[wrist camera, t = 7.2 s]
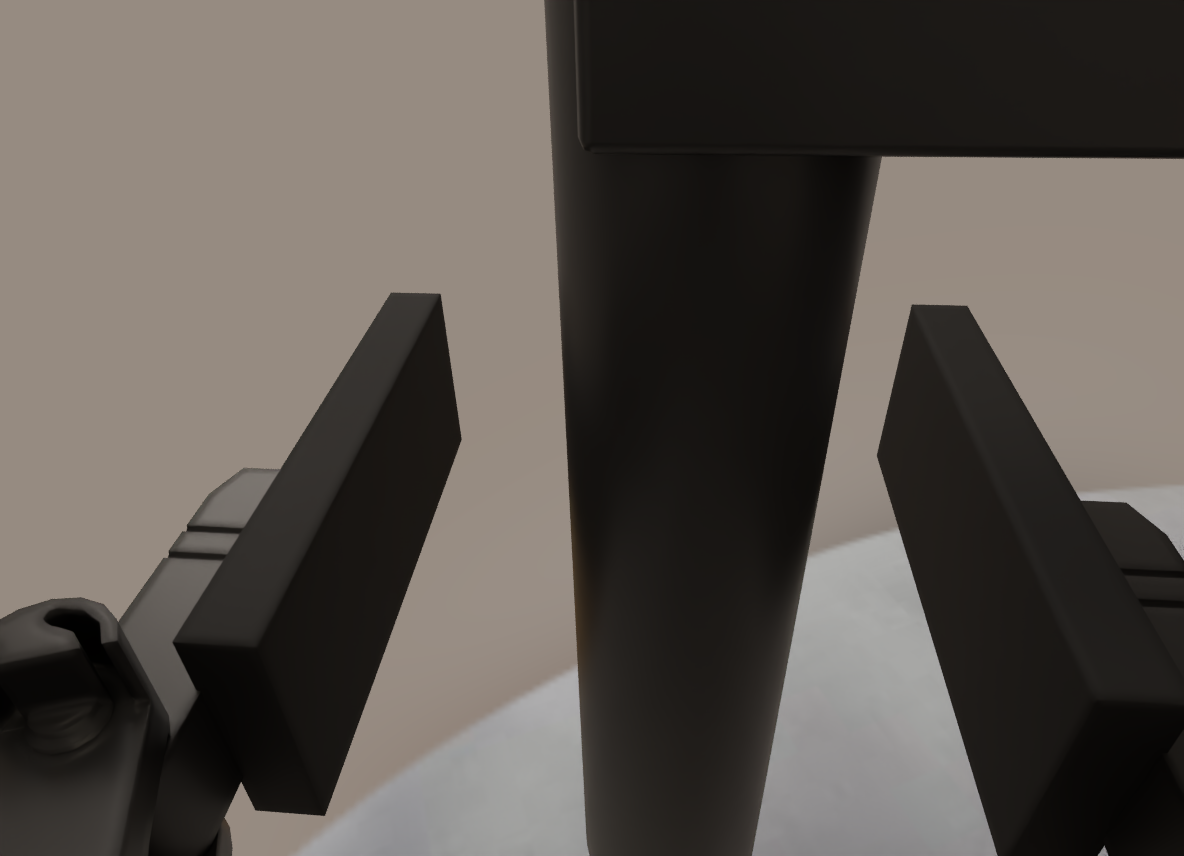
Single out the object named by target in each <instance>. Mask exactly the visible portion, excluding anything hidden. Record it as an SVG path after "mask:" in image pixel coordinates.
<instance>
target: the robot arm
mask: <svg viewBox="0 0 1184 856" xmlns="http://www.w3.org/2000/svg"><path fill="white" fill-rule="evenodd" d="M460 442H461V432H460V425H459V418H458V411H457V404H456V398H455V391H454V384H453V377H452V370H451V363H450V356H449V349H448V342H447V336H446V328H445V321H444V315H443V307H442V301H441V295H440V294H426V293H391V294H390V295H389V297H388V298H387V300H386V302H385V303H384V305H383V307H382V308H381V310H380V312H379V313H378V314H377V316H376V318H375V319H374V321H373V322H372V324H371V326H370V327H369V329H368V330H367V332H366V334H365V335H364V337H363V338H362V340H361V341H360V343H359V345H358V346H357V348H356V349H355V351H354V353H353V355H352V356H351V357H350V359H349V361H348V362H347V364H346V365H345V367H344V369H343V370H342V372H341V373H340V375H339V377H338V378H337V380H336V381H335V383H334V385H333V386H332V388H331V389H330V391H329V393H328V394H327V396H326V397H325V399H324V401H323V402H322V404H321V405H320V407H319V409H318V410H317V412H316V413H315V415H314V417H313V418H312V420H311V421H310V423H309V425H308V426H307V428H306V429H305V431H304V432H303V434H302V436H301V437H300V439H299V440H298V442H297V444H296V445H295V447H294V448H293V450H292V452H291V453H290V455H289V456H288V458H287V460H286V461H285V463H284V465H283V466H282V468H281V469H258V468H243V469H242V470H240V471H239V472H238V473H237V474H235V475H234V476H232V477H231V478H230V479H229V480H227V481H226V482H224V483H223V484H222V485H220V486H219V487H218V488H216V489H215V490H214V491H212V492H211V493H210V494H209V495H208V496H207V498H206V499H205V500H204V502H203V503H202V505H201V506H200V508H199V509H198V510H197V512H196V513H195V515H194V516H193V517H192V519H191V520H190V522H189V523H188V524H187V531H186V532H182V533H181V534H180V536H179V537H178V539H177V540H176V541H175V543H174V544H173V546H172V547H171V548H170V550H169V556H168V558H163V560H162V561H161V563H160V564H159V565H158V567H157V568H156V569H155V571H154V573H153V574H152V575H151V577H150V578H149V579H148V581H147V582H146V584H145V585H144V586H143V588H142V589H141V591H140V592H139V593H138V595H137V596H136V598H135V599H134V600H133V602H132V603H131V605H130V606H129V607H128V609H127V611H126V612H125V613H124V615H123V616H122V617H121V619H120V620H119V622H118V621H117V619H116V618H115V617H114V616H113V614H112V613H111V612H110V611H109V610H108V609H107V607H106V606H105V605H104V604H101V603H98V602H95V601H91V600H88V599H85V598H65V599H51V600H48V601H44V602H41V603H38V604H35V605H31V606H28V607H25V608H22V609H18V610H17V611H15V612H13V613H11V614H9V615H7V616H6V617H4V618H2V619H0V856H232V841H231V833H230V827H229V825H228V823H227V822H226V820H225V818H224V817H225V815H226V813H227V811H228V809H229V806H230V804H231V802H232V800H233V798H234V796H235V794H236V791H237V789H238V787H239V785H240V783H241V782H242V784H243V786H244V788H245V790H246V792H247V794H248V796H249V798H250V800H251V802H252V804H253V806H254V808H255V810H257V811H270V812H282V813H295V814H307V815H321V816H325V814H326V811H327V808H328V806H329V803H330V800H331V798H332V795H333V792H334V789H335V787H336V784H337V781H338V778H339V776H340V773H341V770H342V767H343V765H344V762H345V759H346V756H347V754H348V751H349V748H350V745H351V743H352V740H353V737H354V734H355V731H356V729H357V726H358V723H359V721H360V718H361V715H362V712H363V710H364V707H365V704H366V701H367V698H368V696H369V693H370V690H371V687H372V685H373V682H374V679H375V677H376V673H377V671H378V668H379V665H380V663H381V660H382V657H383V654H384V652H385V649H386V646H387V643H388V641H389V638H390V635H391V632H392V630H393V627H394V624H395V621H396V619H397V616H398V613H399V610H400V607H401V605H402V602H403V599H404V597H405V594H406V591H407V588H408V585H409V583H410V580H411V577H412V575H413V572H414V569H415V566H416V564H417V561H418V558H419V555H420V553H421V550H422V547H423V544H424V542H425V539H426V536H427V533H428V531H429V528H430V525H431V522H432V520H433V517H434V514H435V511H436V509H437V506H438V503H439V500H440V498H441V495H442V492H443V489H444V487H445V484H446V481H447V478H448V476H449V473H450V470H451V467H452V465H453V462H454V459H455V456H456V454H457V451H458V448H459V445H460ZM877 458H878V461H879V464H880V468H881V470H882V474H883V477H884V481H885V484H886V487H887V491H888V494H889V497H890V500H891V504H892V507H893V510H894V514H895V517H896V521H897V524H898V527H899V530H900V534H901V537H902V540H903V544H904V547H905V550H906V554H907V557H908V560H909V564H910V567H911V570H912V574H913V577H914V580H915V583H916V587H917V590H918V593H919V597H920V600H921V603H922V607H923V610H924V613H925V617H926V620H927V623H928V627H929V630H930V633H931V636H932V640H933V643H934V646H935V650H936V653H937V656H938V660H939V663H940V666H941V670H942V673H943V676H944V680H945V683H946V686H947V689H948V693H949V696H950V699H951V703H952V706H953V709H954V713H955V716H956V719H957V723H958V726H959V729H960V733H961V736H962V739H963V742H964V746H965V749H966V752H967V756H968V759H969V762H970V766H971V769H972V772H973V776H974V779H975V782H976V786H977V789H978V792H979V795H980V799H981V802H982V805H983V809H984V812H985V815H986V819H987V822H988V825H989V829H990V832H991V835H992V839H993V842H994V845H995V848H996V852H997V855H998V856H1098V854H1099V853H1100V851H1101V850H1102V848H1103V847H1104V845H1105V848H1106V850H1107V853H1108V855H1109V856H1184V560H1183V559H1182V557H1181V556H1180V554H1179V553H1178V551H1177V550H1176V548H1175V547H1174V545H1173V544H1172V542H1171V541H1170V539H1169V538H1168V536H1167V535H1166V534H1165V533H1164V532H1162V531H1161V530H1160V529H1159V528H1157V527H1156V526H1155V525H1154V524H1152V523H1151V522H1150V521H1149V520H1147V519H1146V518H1145V517H1144V516H1142V515H1141V514H1140V513H1139V512H1137V511H1136V510H1135V509H1134V508H1132V507H1131V506H1130V505H1129V504H1127V503H1123V502H1099V501H1080V499H1079V497H1078V496H1077V494H1076V492H1075V490H1074V489H1073V487H1072V485H1071V484H1070V482H1069V480H1068V478H1067V477H1066V475H1065V473H1064V472H1063V470H1062V469H1061V466H1060V465H1059V463H1058V461H1057V459H1056V458H1055V456H1054V455H1053V453H1052V451H1051V449H1050V447H1049V446H1048V444H1047V442H1046V441H1045V439H1044V438H1043V435H1042V434H1041V432H1040V430H1039V429H1038V427H1037V425H1036V423H1035V422H1034V420H1033V418H1032V416H1031V415H1030V413H1029V411H1028V410H1027V408H1026V406H1025V405H1024V403H1023V401H1022V399H1021V398H1020V396H1019V394H1018V392H1017V391H1016V389H1015V388H1014V386H1013V384H1012V382H1011V380H1010V379H1009V377H1008V375H1007V374H1006V372H1005V370H1004V368H1003V367H1002V365H1001V363H1000V361H999V360H998V358H997V356H996V355H995V353H994V351H993V349H992V348H991V346H990V344H989V343H988V341H987V339H986V338H985V336H984V334H983V332H982V331H981V329H980V327H979V326H978V324H977V322H976V320H975V319H974V317H973V315H972V314H971V312H970V310H969V308H968V307H967V306H950V305H912V307H911V311H910V316H909V319H908V324H907V328H906V333H905V337H904V341H903V346H902V350H901V354H900V359H899V363H898V367H897V371H896V375H895V380H894V384H893V388H892V393H891V397H890V401H889V406H888V410H887V414H886V419H885V423H884V427H883V431H882V436H881V440H880V444H879V449H878V453H877Z"/></svg>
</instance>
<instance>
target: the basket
mask: <svg viewBox="0 0 1184 856" xmlns="http://www.w3.org/2000/svg"><path fill="white" fill-rule="evenodd" d="M544 1H545V22H546V42H547V61H548V79H549V80H548V82H549V100H550V121H551V141H552V160H553V181H554V200H555V221H556V239H557V240H556V241H557V260H558V280H559V299H560V320H561V340H562V360H563V379H564V398H565V399H564V400H565V419H566V439H567V459H568V479H569V498H570V519H571V539H572V558H573V579H574V597H575V618H576V637H577V658H578V678H579V698H580V718H581V738H582V757H583V777H584V797H585V817H586V836H587V846H588V850H589V854H590V856H752V851H753V846H754V841H755V835H756V830H757V824H758V819H759V814H760V808H761V803H762V798H763V792H764V787H765V781H766V776H767V771H768V765H769V760H770V755H771V749H772V744H773V738H774V733H775V728H776V722H777V717H778V712H779V706H780V701H781V695H782V690H783V685H784V679H785V674H786V669H787V663H788V658H789V652H790V647H791V642H792V636H793V631H794V626H795V620H796V615H797V609H798V604H799V599H800V593H801V588H802V583H803V577H804V572H805V566H806V561H807V556H808V550H809V545H810V539H811V534H812V529H813V523H814V518H815V513H816V507H817V501H818V496H819V491H820V486H821V480H822V474H823V470H824V464H825V459H826V454H827V448H828V443H829V437H830V432H831V427H832V421H833V416H834V410H835V405H836V399H837V395H838V389H839V384H840V378H841V373H842V368H843V362H844V357H845V351H846V346H847V340H848V335H849V330H850V324H851V319H852V314H853V309H854V303H855V298H856V292H857V287H858V282H859V276H860V271H861V265H862V260H863V255H864V249H865V243H866V239H867V233H868V228H869V222H870V217H871V212H872V206H873V201H874V195H875V190H876V184H877V180H878V174H879V169H880V163H881V158H882V156H885V157H891V156H892V157H893V156H894V157H896V156H897V157H1016V158H1018V157H1019V158H1021V157H1022V158H1145V159H1146V158H1147V159H1151V158H1152V159H1184V0H544Z"/></svg>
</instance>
